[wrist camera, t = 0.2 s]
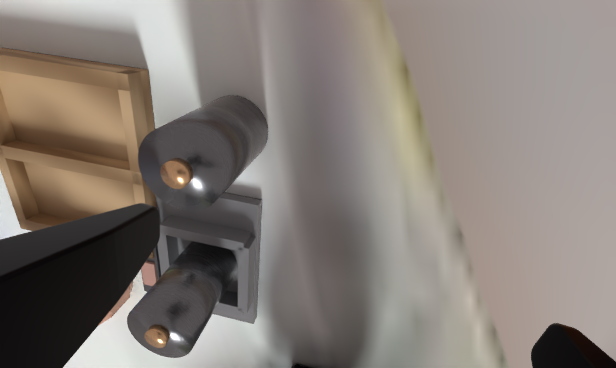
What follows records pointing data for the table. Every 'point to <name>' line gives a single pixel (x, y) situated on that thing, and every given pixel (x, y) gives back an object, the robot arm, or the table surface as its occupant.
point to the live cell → (183, 300)
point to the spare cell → (202, 152)
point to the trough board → (71, 136)
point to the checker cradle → (218, 232)
